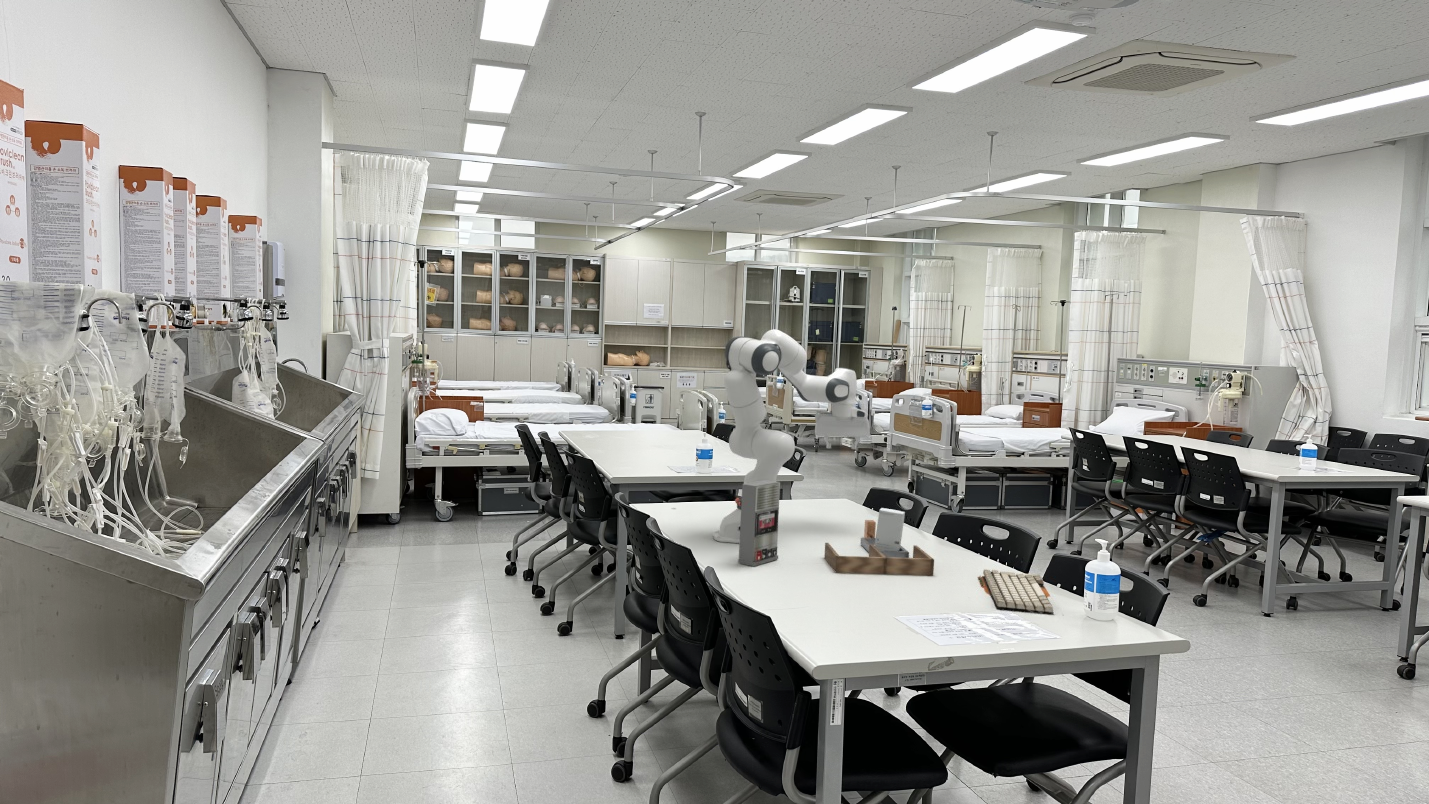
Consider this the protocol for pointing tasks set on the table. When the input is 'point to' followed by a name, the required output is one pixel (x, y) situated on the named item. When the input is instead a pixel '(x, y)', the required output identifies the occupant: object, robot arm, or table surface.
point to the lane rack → (881, 562)
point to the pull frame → (870, 539)
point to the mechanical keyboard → (1016, 592)
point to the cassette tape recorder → (759, 522)
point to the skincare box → (889, 530)
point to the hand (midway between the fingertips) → (841, 448)
